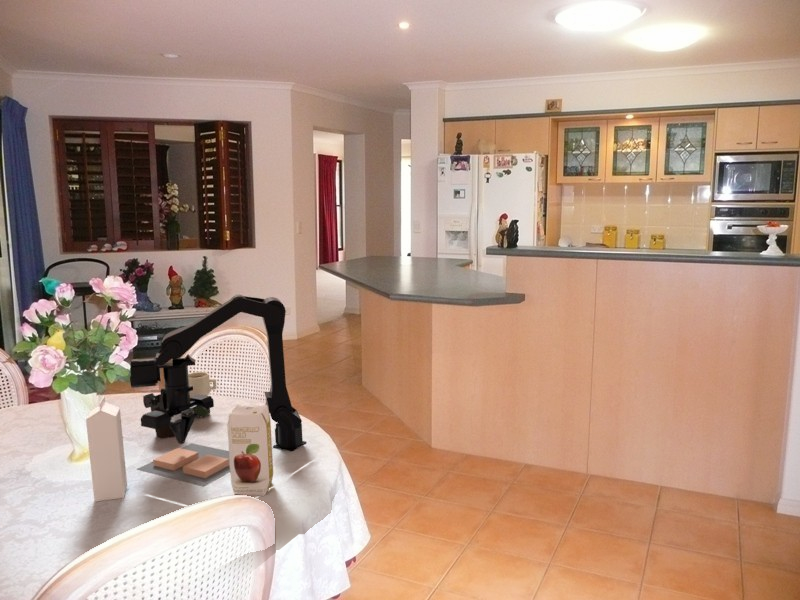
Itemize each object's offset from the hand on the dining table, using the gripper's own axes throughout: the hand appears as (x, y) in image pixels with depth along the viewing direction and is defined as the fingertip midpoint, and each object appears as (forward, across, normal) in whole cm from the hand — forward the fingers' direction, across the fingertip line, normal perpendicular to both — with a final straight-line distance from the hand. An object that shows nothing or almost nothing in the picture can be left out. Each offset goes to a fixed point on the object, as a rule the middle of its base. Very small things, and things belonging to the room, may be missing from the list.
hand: (181, 443), depth 155 cm
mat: (+5, 0, +5) cm, 7 cm away
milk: (+5, +20, -1) cm, 21 cm away
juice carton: (+5, +5, +27) cm, 28 cm away
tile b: (+3, -2, 0) cm, 4 cm away
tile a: (+3, -2, +10) cm, 11 cm away
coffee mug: (+5, -13, -17) cm, 22 cm away
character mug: (+5, -27, -21) cm, 34 cm away
